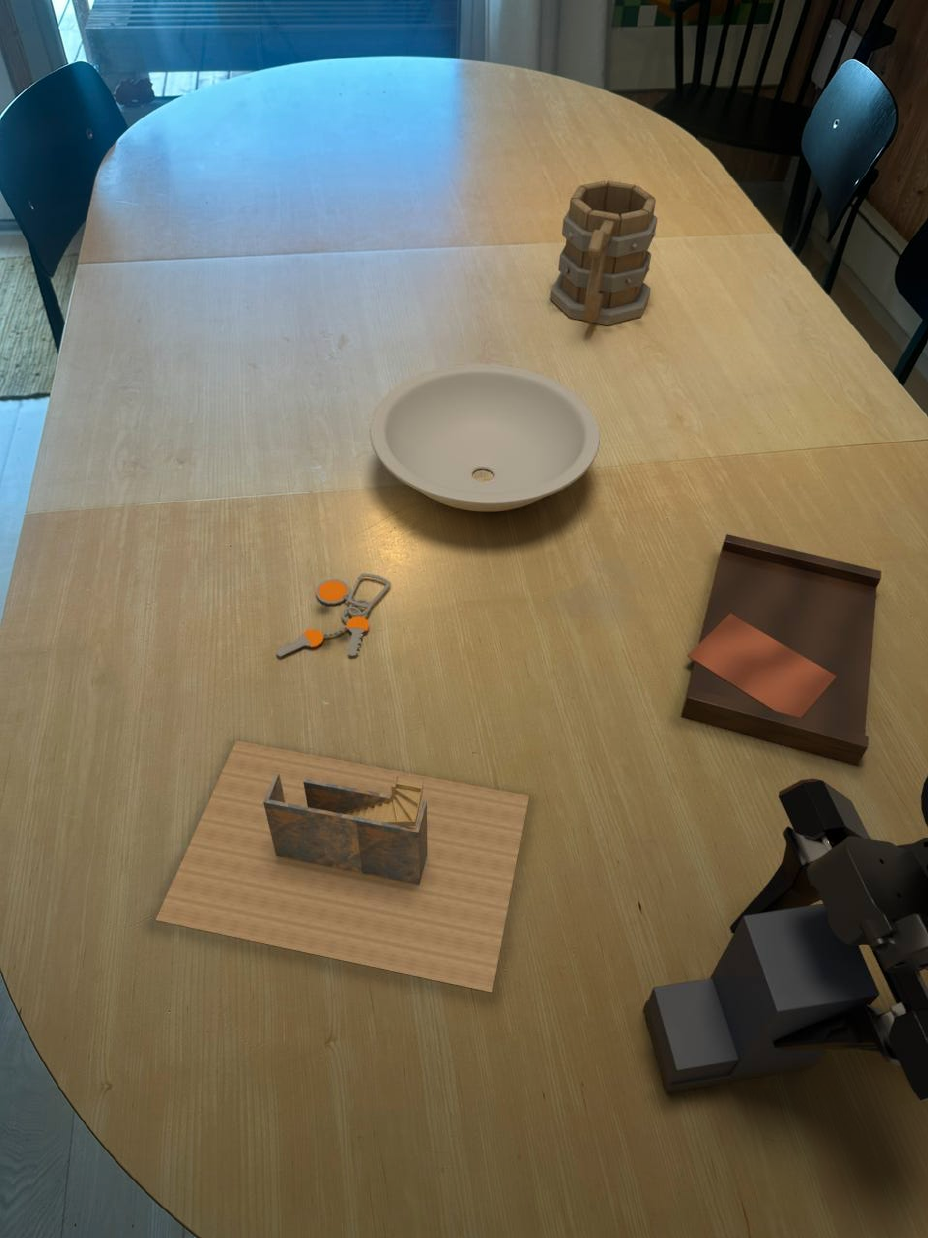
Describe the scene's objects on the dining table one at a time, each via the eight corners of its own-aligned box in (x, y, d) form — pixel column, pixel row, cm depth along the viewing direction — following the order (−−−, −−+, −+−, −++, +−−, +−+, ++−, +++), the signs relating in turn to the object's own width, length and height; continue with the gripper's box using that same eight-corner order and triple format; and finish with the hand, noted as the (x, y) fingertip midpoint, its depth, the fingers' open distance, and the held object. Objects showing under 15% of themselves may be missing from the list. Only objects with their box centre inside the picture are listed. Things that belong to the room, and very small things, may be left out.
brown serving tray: (872, 590, 95) (881, 570, 93) (857, 766, 81) (868, 747, 79) (712, 551, 99) (718, 531, 97) (672, 713, 85) (677, 694, 83)
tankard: (566, 270, 138) (577, 162, 126) (653, 286, 135) (673, 177, 124) (527, 341, 125) (536, 228, 114) (624, 361, 122) (643, 246, 111)
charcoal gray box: (780, 985, 68) (840, 900, 57) (811, 1068, 64) (880, 995, 54) (642, 1007, 67) (677, 925, 56) (666, 1093, 63) (707, 1023, 53)
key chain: (334, 565, 96) (334, 558, 95) (402, 586, 94) (402, 579, 93) (269, 655, 88) (268, 649, 87) (342, 680, 86) (341, 674, 85)
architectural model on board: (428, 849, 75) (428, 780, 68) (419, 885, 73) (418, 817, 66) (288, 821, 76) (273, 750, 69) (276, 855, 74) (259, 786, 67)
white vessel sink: (634, 513, 102) (644, 463, 98) (427, 579, 95) (426, 529, 90) (527, 392, 117) (532, 344, 112) (340, 442, 109) (336, 392, 105)
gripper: (860, 694, 55) (639, 820, 62) (1047, 1025, 43) (746, 1139, 49) (930, 757, 62) (725, 864, 69) (1108, 1057, 50) (838, 1153, 56)
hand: (754, 986), depth 60 cm, fingers closed on charcoal gray box, 7 cm apart
